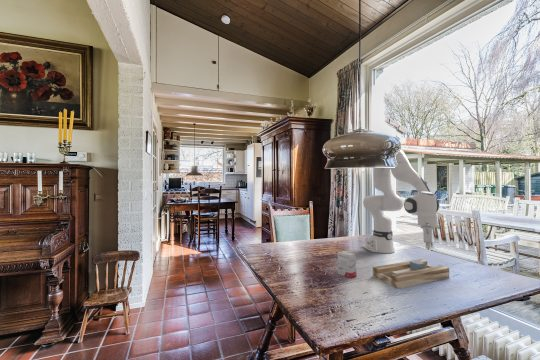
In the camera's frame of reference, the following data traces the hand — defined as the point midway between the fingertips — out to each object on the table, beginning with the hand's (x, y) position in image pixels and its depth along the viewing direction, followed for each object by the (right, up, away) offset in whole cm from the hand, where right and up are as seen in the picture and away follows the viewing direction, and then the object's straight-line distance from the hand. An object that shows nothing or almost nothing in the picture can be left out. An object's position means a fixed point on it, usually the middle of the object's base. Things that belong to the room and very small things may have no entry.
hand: (427, 248), depth 135 cm
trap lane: (-11, -14, -4) cm, 18 cm away
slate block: (-7, -11, -2) cm, 13 cm away
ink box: (-43, -15, +1) cm, 45 cm away
